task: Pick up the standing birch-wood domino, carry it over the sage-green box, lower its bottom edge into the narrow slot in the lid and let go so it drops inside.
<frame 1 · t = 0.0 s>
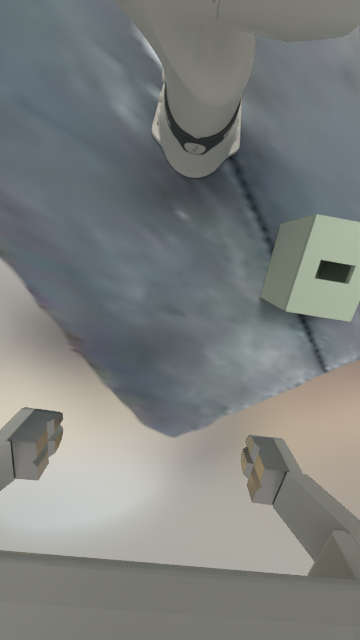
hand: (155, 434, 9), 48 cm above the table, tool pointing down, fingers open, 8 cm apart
slot box: (296, 266, 54), on the table
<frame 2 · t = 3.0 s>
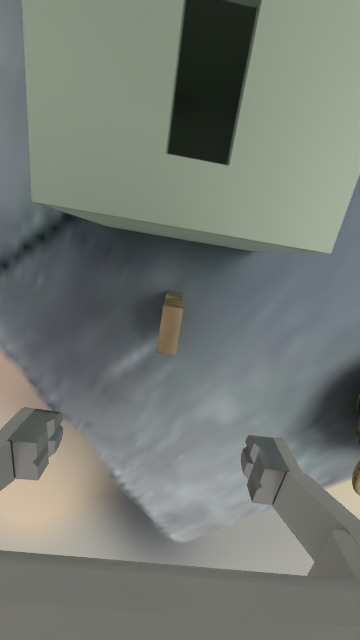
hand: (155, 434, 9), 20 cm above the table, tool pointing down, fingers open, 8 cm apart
wooden domino: (172, 310, 29), on the table
slot box: (193, 173, 24), on the table
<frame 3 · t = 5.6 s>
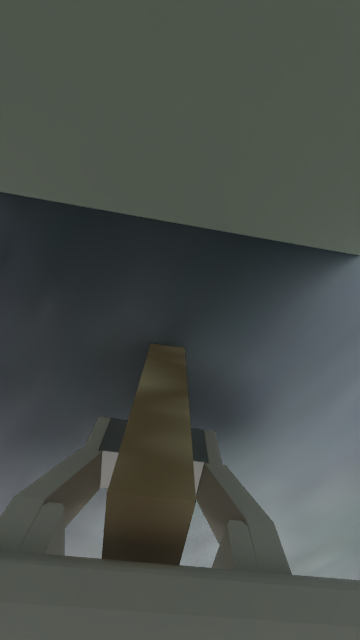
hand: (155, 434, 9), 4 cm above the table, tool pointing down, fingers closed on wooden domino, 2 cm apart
wooden domino: (162, 382, 13), on the table, touching gripper
slot box: (217, 30, 8), on the table
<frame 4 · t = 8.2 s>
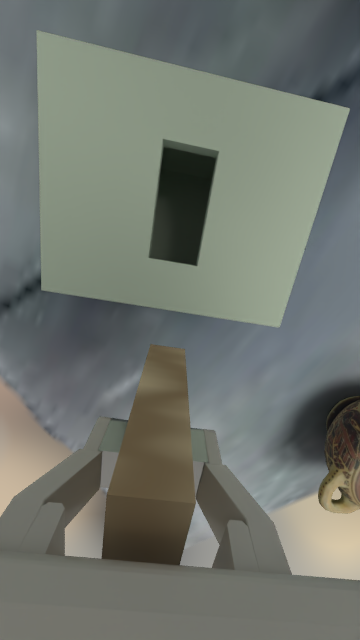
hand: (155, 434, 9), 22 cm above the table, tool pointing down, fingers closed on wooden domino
ceramic bowl: (350, 416, 38), on the table
wooden domino: (162, 383, 13), point 18 cm above the table, touching gripper
slot box: (177, 230, 27), on the table
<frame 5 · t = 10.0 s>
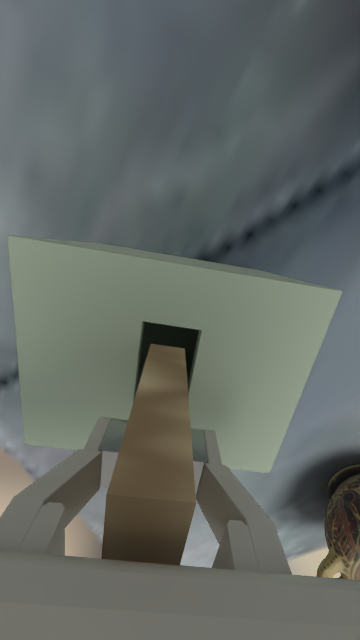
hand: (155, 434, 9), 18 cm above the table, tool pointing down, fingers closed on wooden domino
ceramic bowl: (353, 482, 36), on the table
wooden domino: (162, 382, 13), point 14 cm above the table, touching gripper
slot box: (171, 314, 27), on the table
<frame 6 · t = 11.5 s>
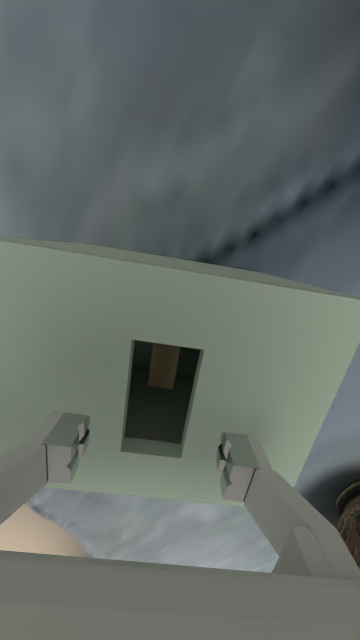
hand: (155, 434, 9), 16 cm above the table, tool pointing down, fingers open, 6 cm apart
wooden domino: (168, 324, 24), point 1 cm above the table, touching slot box
slot box: (169, 321, 25), on the table
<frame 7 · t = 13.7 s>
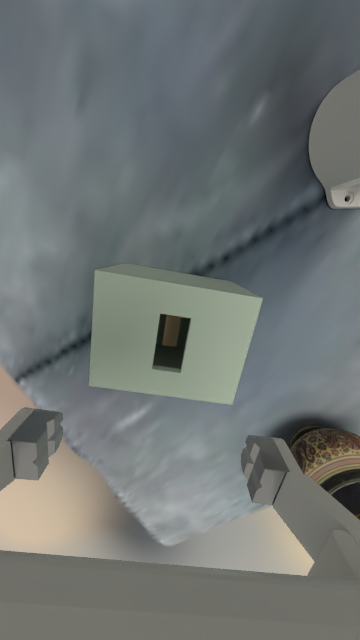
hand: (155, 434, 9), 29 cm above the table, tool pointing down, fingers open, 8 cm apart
ceramic bowl: (309, 441, 48), on the table
wooden domino: (172, 313, 37), point 1 cm above the table, touching slot box
slot box: (172, 312, 38), on the table
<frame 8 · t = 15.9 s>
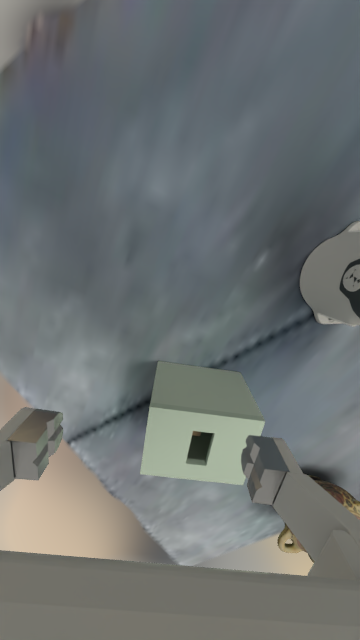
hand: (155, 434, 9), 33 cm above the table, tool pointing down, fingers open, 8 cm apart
ceramic bowl: (305, 486, 58), on the table
slot box: (193, 393, 48), on the table
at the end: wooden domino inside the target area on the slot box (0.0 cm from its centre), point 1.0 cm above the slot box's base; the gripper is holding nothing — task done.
